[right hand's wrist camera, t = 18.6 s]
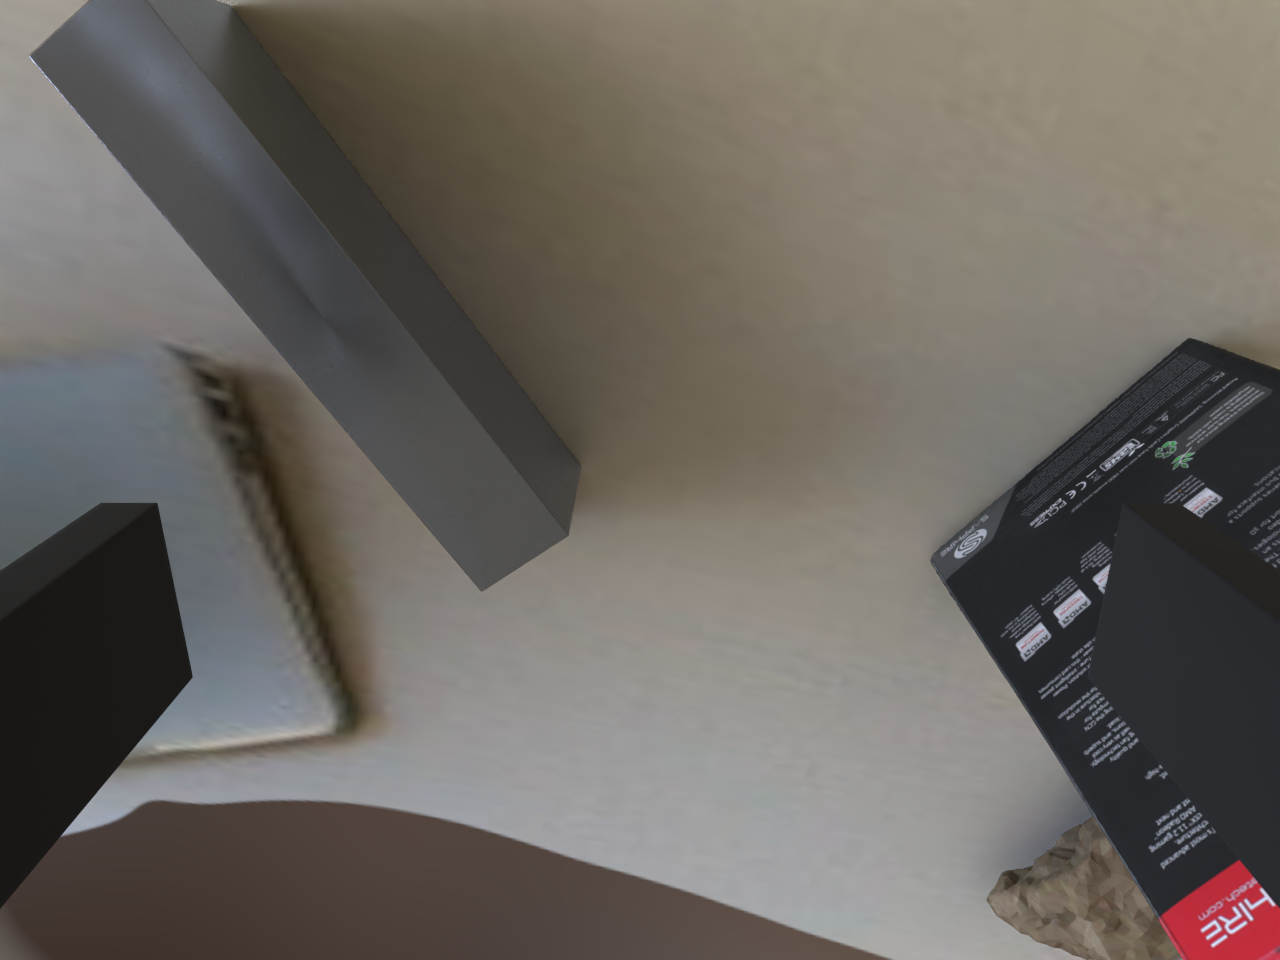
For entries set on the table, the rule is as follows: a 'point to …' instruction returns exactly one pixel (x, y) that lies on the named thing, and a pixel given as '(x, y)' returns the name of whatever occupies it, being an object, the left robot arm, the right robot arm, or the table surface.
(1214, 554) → the right robot arm
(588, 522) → the table surface
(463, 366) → the bar
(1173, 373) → the graphics card box
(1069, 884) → the stone
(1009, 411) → the table surface
